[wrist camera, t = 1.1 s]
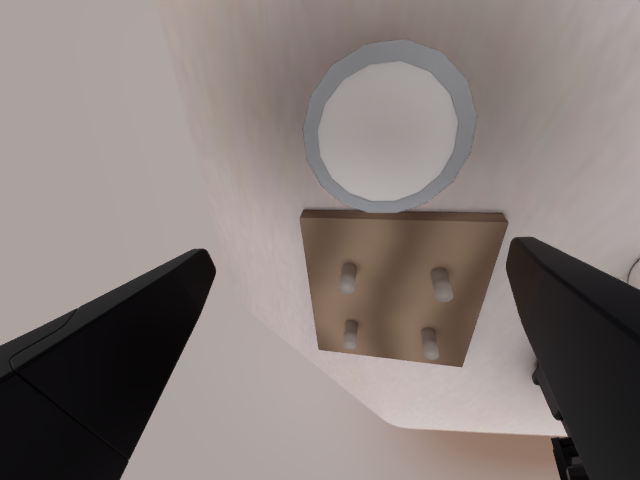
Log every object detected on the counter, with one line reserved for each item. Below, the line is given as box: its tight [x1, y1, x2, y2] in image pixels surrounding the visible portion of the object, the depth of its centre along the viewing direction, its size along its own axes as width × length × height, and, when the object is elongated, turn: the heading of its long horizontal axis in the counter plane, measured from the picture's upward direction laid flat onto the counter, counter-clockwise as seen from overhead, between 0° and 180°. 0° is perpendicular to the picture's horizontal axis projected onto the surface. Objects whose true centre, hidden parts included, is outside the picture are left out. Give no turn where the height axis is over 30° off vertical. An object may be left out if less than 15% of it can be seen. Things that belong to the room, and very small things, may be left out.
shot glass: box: [303, 39, 477, 213], centre depth 14 cm, size 7×7×7 cm
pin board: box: [300, 210, 509, 367], centre depth 24 cm, size 14×16×4 cm
